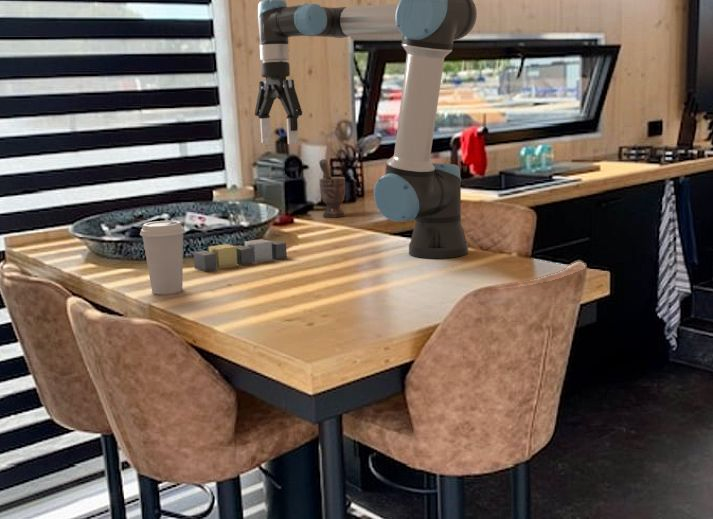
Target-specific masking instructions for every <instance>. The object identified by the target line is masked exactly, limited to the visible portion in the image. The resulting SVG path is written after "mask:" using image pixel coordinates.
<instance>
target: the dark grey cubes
mask: <svg viewBox="0 0 713 519" xmlns="http://www.w3.org/2000/svg"><path fill="white" fill-rule="evenodd" d="M270 241H271V244H272V260H276V261H279V260H284V259H287V252H288V251H287V243H286V242H284V241H280V240H279V241H278V240H276V239H275V240H273V239H272V240H270ZM235 246H236V252H237V266H238V265H239V266H249V265H253V261H252V248H249V247H245V245H241V244H239V245H235ZM193 263H194V269H197V270H199V271H203V272H211V271H218V268H216V254H215V253H211V252H209V250H208V251H207V250H198V251H193Z"/></svg>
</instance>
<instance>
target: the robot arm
mask: <svg viewBox="0 0 713 519" xmlns="http://www.w3.org/2000/svg"><path fill="white" fill-rule="evenodd" d="M287 5H288V4H287V2H286V0H261V1H260V2H259V3H258V5H257V23H258V32H259V33H258V34H259V57H260V61H262V63H261V64H260V72H261V74H260V76H261V77H262V78H265V80H263V81H262V80H260V81H259V82H258V89H259V90H258V95H257V98H256V105H255V109H254V116H256V117H258V119H259V124H260V140H261V141H260V142H261V144H265V143H272V129H271V126H272V125H271V116H270V113H271V110H272V107H273V104H274V102H275V100H276V99H278V100H279V101H280V103H281V105H282V107H283V109H284V111H285V113H286V115H287V116H286V135H287V144H288V145H296V144H299V135H298V134H299V132H298V130H299V128H298V124H299V123H298V119H299V117H300V116H303V110H302V107H301V104H300V101H299V97H298V94H297V92H296V88H295V87H296V86H295V80H294V79H287V77H288V78H289V77H290V75H291V69H290V68H291V66H290V65H291V64H290V62H288V61H289V59H290V55H289V54H290V53H289V52H290V49H289V38H291V37H292V38H293V37H294V38H295V37H322V38H323V37H327V38H337V39H342V38H343V39H344V38H349V37H365V36H366V37H367V36H368V37H369V36H371V37H373V36H393V35H394V36H395V35H398V36H399V35H402V38H401V39H402V40H401V47H403V50H404V51H406V52H405V53H406V57H405V58H406V59H405V67H404V73H403V74H404V76H403V81H402V90H401V99H400V106H399V113H398V114H399V115H398V121H397V130H396V137H395V143H394V144H395V145H394V154H393V156H391V157H390V158H389V159H387V161H386V163H385V164H386V165H385V172H384V174H383V175H381V177H380V178H379V179H377V181H376V182H375V184H374V187H373V199H374V203H375V206H376V208H377V209H378V210H379V212H380V214H381V215H382V216H383V217H384V218H385V219H387V220H390V221H392V222H397V223H399V222H411V221H413V220H414V222H415V223H414V226H413V230H412V234H411V239H410V242H409V243H408V254H409V255H410V256H412V257H417V258H421V259H422V258H424V259H448V258H450V259H451V258H457V257H463V256H465V255H467V254H469V244H468V241H467V239H466V238H467V237H466V235H465V232H464V228H463V226H462V219H461V215H462V209H461V208H462V204H461V202H462V200H461V198H462V197H461V196H462V195H461V194H462V192H461V190H462V188H461V184H462V177H461V169H460V167H459V166H458V165H457V164H452V163H437V162H435V163H434V162H431V155H432V154H431V153H432V148H433V147H432V146H433V141H434V140H433V139H434V131H435V126H436V125H435V124H436V119H437V112H438V104H439V96H440V90H441V82H442V75H443V69H444V68H443V67H444V62H445V58H446V57H447V56H448V55H449V54H450V53H452V52H453V46H454V41H458V40H461V39H463V38H464V37H466V36H467V35H468V34H469V33H471V32H472V30H473V28H474V27H475V26H476V25H475V24H476V21H477V19H478V17H477V16H478V13H477V12H478V10H477V7H476V4H475V2H474V0H399V2H398V3H384V4H372V5H371V4H370V5H359V6H358V5H356V6H341V7H340V6H339V7H327V6H326V7H325V6H321V5H320V4H318V3H303V4H299V5H292V6H287Z"/></svg>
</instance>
